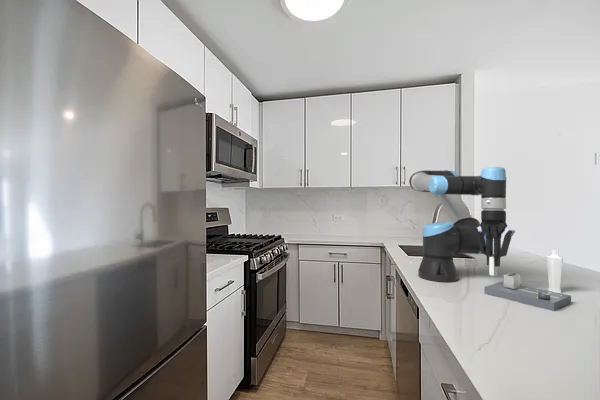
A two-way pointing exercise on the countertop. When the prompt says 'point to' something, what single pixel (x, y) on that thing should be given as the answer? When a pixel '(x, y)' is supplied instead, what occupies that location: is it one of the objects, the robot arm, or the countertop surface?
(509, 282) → the fader
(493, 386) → the countertop surface
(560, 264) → the perfume bottle
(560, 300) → the console
